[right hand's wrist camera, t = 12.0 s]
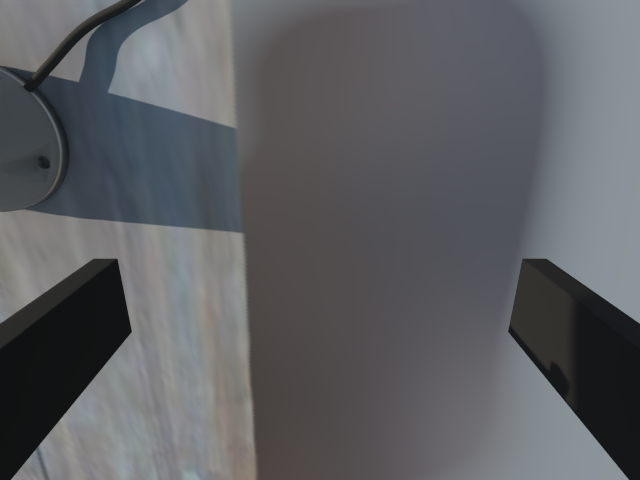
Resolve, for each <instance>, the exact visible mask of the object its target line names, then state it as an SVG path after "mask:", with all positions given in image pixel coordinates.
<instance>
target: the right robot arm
mask: <svg viewBox="0 0 640 480" xmlns="http://www.w3.org/2000/svg"><path fill="white" fill-rule="evenodd" d="M140 1H141V0H121V1H119V2H118V3H116V4H114V5H112V6H110V7H108V8H106V9H104V10H102V11H100V12H99V13H97V14H95V15H93V16H92V17H90V18H88V19H87V20H86V21H84V22H83V23H81V24H80V25H79V26H78V27H77V28H75V29H74V30H73V31H72V32H71V33H70V34H69V35H68V36H67V37H66V38H65V39H64V41H63V42H62V43H61V44H60V45H59V46H58V47H57V49H56V50H55V51H54V52H53V53H52V55H51V56H50V57H49V58H48V59H47V60H46V61H45V62H44V63H43V65H42V66H41V67H40V68H39V69H38V70H37V71H36V72H35V74H34V75H33V76H32V77H31V78H30V79H29V80H28V81H26V80H25V79H24V78H22V77H21V76H19V75H17V74H16V73H14V72H12V71H10V70H8V69H5V68H3V67H0V212H7V211H15V210H20V209H24V208H27V207H30V206H33V205H36V204H38V203H40V202H43V201H44V200H46V199H47V198H49V197H50V196H51V195H52V194H53V193H54V192H55V191H56V190H57V189H58V188H59V186H60V185H61V183H62V181H63V179H64V177H65V174H66V171H67V166H68V144H67V139H66V135H65V132H64V129H63V126H62V124H61V122H60V119H59V118H58V116H57V114H56V112H55V111H54V109H53V107H52V106H51V105H50V103H49V102H48V101H47V99H46V98H45V97H44V96H43V95H42V94H41V93H40V92H39V91H38V90H37V89H36V88H37V87H38V86H39V85H40V83H41V82H42V81H43V80H44V79H45V78H46V77H47V76H48V75H49V73H50V72H51V71H52V70H53V69H54V68H55V67H56V66H57V65H58V64H59V62H60V61H61V60H62V59H63V58H64V57H65V55H66V54H67V53H68V52H69V51H70V50H71V48H72V47H73V46H74V45H75V44H76V43H77V42H78V41H79V40H80V39H81V38H82V37H83V36H85V35H86V34H87V33H88V32H89V31H91V30H92V29H94V28H95V27H97V26H98V25H100V24H101V23H103V22H105V21H107V20H109V19H111V18H113V17H115V16H117V15H119V14H121V13H122V12H124V11H126V10H128V9H130V8H131V7H133V6H134V5H136V4H137V3H138V2H140ZM131 332H132V331H131V326H130V321H129V315H128V310H127V305H126V300H125V295H124V290H123V285H122V280H121V275H120V270H119V265H118V260H117V259H93V260H91V261H90V262H88V263H87V264H85V265H84V266H83V267H81V268H80V269H78V270H77V271H75V272H74V273H73V274H71V275H70V276H68V277H67V278H65V279H64V280H62V281H61V282H60V283H58V284H57V285H55V286H54V287H52V288H51V289H50V290H48V291H47V292H45V293H44V294H42V295H41V296H39V297H38V298H37V299H35V300H34V301H32V302H31V303H29V304H28V305H27V306H25V307H24V308H22V309H21V310H19V311H18V312H16V313H15V314H14V315H12V316H11V317H9V318H8V319H6V320H5V321H4V322H2V323H1V324H0V480H11V479H12V478H13V476H14V475H15V474H16V473H17V472H18V470H19V469H20V468H21V467H22V465H23V464H24V463H25V462H26V461H27V459H28V458H29V457H30V456H31V454H32V453H33V452H34V451H35V450H36V448H37V447H38V446H39V445H40V443H41V442H42V441H43V440H44V439H45V437H46V436H47V435H48V434H49V432H50V431H51V430H52V429H53V428H54V426H55V425H56V424H57V423H58V421H59V420H60V419H61V418H62V416H63V415H64V414H65V413H66V412H67V410H68V409H69V408H70V407H71V405H72V404H73V403H74V402H75V401H76V399H77V398H78V397H79V396H80V394H81V393H82V392H83V391H84V390H85V388H86V387H87V386H88V385H89V383H90V382H91V381H92V380H93V379H94V377H95V376H96V375H97V374H98V372H99V371H100V370H101V369H102V368H103V366H104V365H105V364H106V363H107V361H108V360H109V359H110V358H111V357H112V355H113V354H114V353H115V352H116V350H117V349H118V348H119V347H120V346H121V344H122V343H123V342H124V341H125V339H126V338H127V337H128V336H129V335H130V333H131ZM508 332H509V333H510V335H511V336H512V337H513V338H514V339H515V341H516V342H517V343H518V344H519V346H520V347H521V348H522V349H523V350H524V351H525V353H526V354H527V355H528V357H529V358H530V359H531V360H532V361H533V363H534V364H535V365H536V366H537V368H538V369H539V370H540V371H541V372H542V374H543V375H544V376H545V377H546V379H547V380H548V381H549V382H550V383H551V385H552V386H553V387H554V388H555V390H556V391H557V392H558V393H559V394H560V396H561V397H562V398H563V399H564V401H565V402H566V403H567V404H568V405H569V407H570V408H571V409H572V410H573V412H574V413H575V414H576V415H577V416H578V418H579V419H580V420H581V421H582V423H583V424H584V425H585V426H586V428H587V429H588V430H589V431H590V432H591V434H592V435H593V436H594V437H595V439H596V440H597V441H598V442H599V443H600V445H601V446H602V447H603V448H604V450H605V451H606V452H607V453H608V454H609V456H610V457H611V458H612V459H613V461H614V462H615V463H616V464H617V465H618V467H619V468H620V469H621V470H622V471H623V473H624V474H625V475H626V476H627V478H628V479H629V480H640V324H639V323H638V322H636V321H635V320H634V319H632V318H631V317H629V316H628V315H626V314H625V313H624V312H622V311H621V310H619V309H618V308H616V307H615V306H613V305H612V304H611V303H609V302H608V301H606V300H605V299H603V298H602V297H601V296H599V295H598V294H596V293H595V292H593V291H592V290H590V289H589V288H588V287H586V286H585V285H583V284H582V283H580V282H579V281H578V280H576V279H575V278H573V277H572V276H570V275H569V274H567V273H566V272H565V271H563V270H562V269H560V268H559V267H557V266H556V265H555V264H553V263H552V262H550V261H549V260H547V259H523V260H522V265H521V270H520V275H519V280H518V285H517V290H516V295H515V300H514V305H513V310H512V316H511V321H510V326H509V331H508Z"/></svg>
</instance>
